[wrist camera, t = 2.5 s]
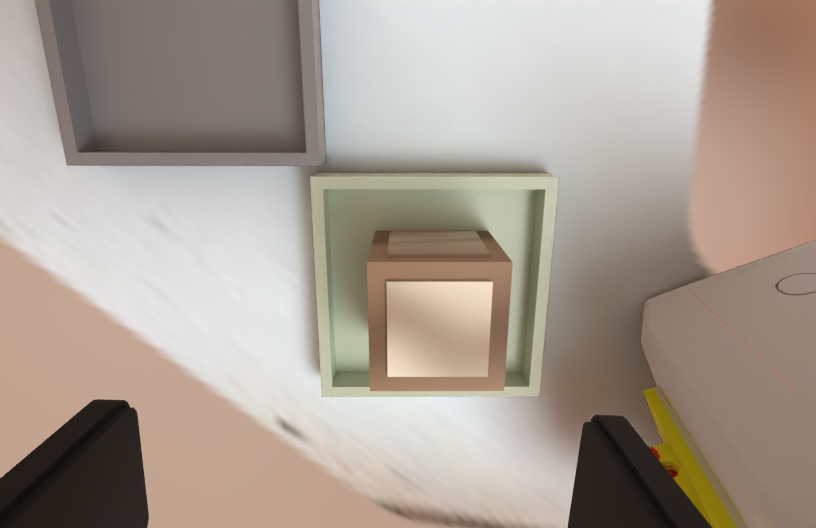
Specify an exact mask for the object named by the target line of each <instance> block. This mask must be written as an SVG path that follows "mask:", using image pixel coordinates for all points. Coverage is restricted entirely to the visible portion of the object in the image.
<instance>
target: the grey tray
mask: <svg viewBox="0 0 816 528" xmlns="http://www.w3.org/2000/svg"><path fill="white" fill-rule="evenodd" d="M35 3H36V8H37V14H38V19H39V24H40V29H41V34H42V39H43V45H44V50H45V55H46V60H47V65H48V70H49V76H50V81H51V86H52V91H53V96H54V101H55V107H56V112H57V117H58V122H59V127H60V132H61V138H62V143H63V148H64V153H65V158H66V163H67V165H83V166H321V165H323V164H324V163H326V146H325V124H324V101H323V79H322V56H321V33H320V11H319V0H35Z"/></svg>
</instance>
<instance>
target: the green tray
mask: <svg viewBox="0 0 816 528" xmlns="http://www.w3.org/2000/svg"><path fill="white" fill-rule="evenodd" d="M558 184H559V177H558V176H555V175H552V174H549V173H418V172H317V173H315V174H313V175H312V176H310V189H311V207H312V225H313V244H314V262H315V281H316V299H317V318H318V336H319V355H320V373H321V391H322V397H473V396H539V394H540V383H541V372H542V361H543V350H544V339H545V328H546V317H547V306H548V295H549V283H550V272H551V261H552V250H553V239H554V228H555V217H556V206H557V195H558ZM375 231H489V232H490V233H491V235H492V236H493V237H494V239H495V240H496V241H497V243H498V244H499V245H500V246H501V248H502V249H503V250H504V252H505V253H506V254H507V255H508V257H509V258H510V259H511V261H512V262H513V265H512V280H511V295H510V310H509V325H508V340H507V355H506V370H505V385H504V391H370V376H369V331H368V286H367V260H368V256H369V253H370V249H371V245H372V241H373V237H374V234H375Z"/></svg>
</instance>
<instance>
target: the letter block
mask: <svg viewBox="0 0 816 528" xmlns="http://www.w3.org/2000/svg"><path fill="white" fill-rule="evenodd" d="M512 265H513V262H512V261H511V259H510V258H509V257H508V255H507V254H506V253H505V252H504V250H503V249H502V248H501V246H500V245H499V244H498V243H497V241H496V240H495V239H494V237H493V236H492V235H491V233H490V232H489V231H375V234H374V237H373V241H372V245H371V249H370V253H369V256H368V260H367V286H368V331H369V376H370V391H504V385H505V370H506V355H507V340H508V325H509V310H510V295H511V280H512Z"/></svg>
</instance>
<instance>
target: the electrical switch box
mask: <svg viewBox="0 0 816 528" xmlns="http://www.w3.org/2000/svg"><path fill="white" fill-rule="evenodd" d="M641 345H642V348H643V351H644V353H645V356H646V359H647V361H648V364H649V367H650V369H651V372H652V375H653V377H654V380H655V383H656V385H657V386H656V387H652V388H649V389H646V390H643V393H644V395H645V398H646V400H647V403H648V405H649V408H650V411H651V413H652V416H653V418H654V421H655V423H656V426H657V429H658V431H659V434H660V436H661V439H662V442H663V443H662V444H659V445H655V446H652V447H649V448H650V450H651V451H652V452H653V453H654V455H655V456H656V457H657V459H658V460H659V461H660V462H661V464H662V465H663V466H664V467H665V469H666V470H667V471H668V472H669V474H670V475H671V476H672V477H673V479H674V480H675V481H676V482H677V484H678V485H679V486H680V487H681V489H682V490H683V491H684V492H685V494H686V495H687V496H688V498H689V499H690V500H691V501H692V503H693V504H694V505H695V506H696V508H697V509H698V510H699V511H700V513H701V514H702V515H703V516H704V518H705V519H706V520H707V521H708V523H709V524H710V525H711V526H712V528H816V240H814V241H811V242H808V243H805V244H803V245H800V246H797V247H794V248H791V249H788V250H785V251H782V252H779V253H777V254H774V255H771V256H768V257H766V258H762V259H759V260H756V261H754V262H751V263H748V264H745V265H742V266H739V267H737V268H734V269H730V270H727V271H725V272H722V273H719V274H716V275H713V276H710V277H707V278H704V279H702V280H699V281H696V282H693V283H690V284H687V285H685V286H682V287H679V288H676V289H674V290H671V291H668V292H666V293H663V294H660V295H658V296H655V297H652V298H649V299H648V300H646V302H645V303H644V309H643V321H642V333H641Z"/></svg>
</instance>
